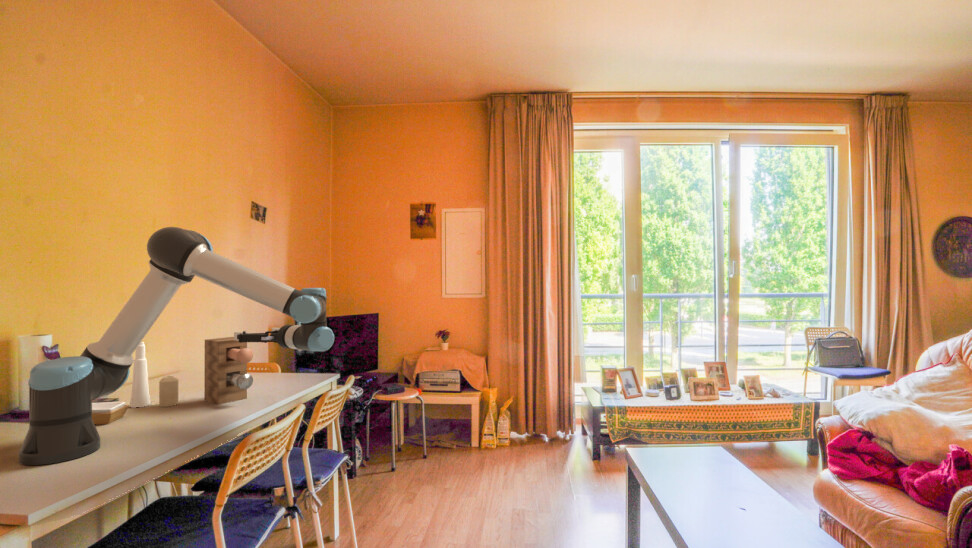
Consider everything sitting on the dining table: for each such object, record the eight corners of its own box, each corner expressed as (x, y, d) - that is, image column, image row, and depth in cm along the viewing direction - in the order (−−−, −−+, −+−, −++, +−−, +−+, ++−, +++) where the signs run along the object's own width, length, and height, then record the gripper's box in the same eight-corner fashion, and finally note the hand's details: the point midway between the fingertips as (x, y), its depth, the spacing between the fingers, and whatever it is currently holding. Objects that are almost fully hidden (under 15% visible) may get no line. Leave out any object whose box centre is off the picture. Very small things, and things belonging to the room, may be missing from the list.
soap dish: (63, 428, 137) (63, 411, 137) (84, 418, 147) (84, 402, 147) (111, 425, 140) (111, 408, 140) (129, 416, 149) (129, 400, 149)
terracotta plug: (253, 362, 164) (253, 347, 164) (238, 364, 160) (238, 349, 160) (236, 359, 170) (236, 345, 170) (221, 361, 166) (221, 346, 166)
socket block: (246, 398, 170) (246, 338, 171) (218, 404, 162) (219, 341, 162) (232, 394, 176) (232, 336, 176) (204, 400, 167) (204, 339, 168)
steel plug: (253, 387, 164) (253, 372, 164) (238, 390, 160) (238, 375, 160) (235, 383, 170) (235, 369, 170) (221, 386, 166) (221, 372, 166)
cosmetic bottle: (143, 402, 165) (143, 340, 165) (155, 404, 163) (155, 341, 163) (125, 407, 159) (125, 343, 159) (137, 408, 157) (137, 343, 157)
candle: (181, 404, 163) (181, 375, 163) (163, 407, 158) (163, 378, 158) (173, 402, 166) (173, 374, 166) (156, 405, 161) (156, 376, 161)
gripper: (257, 354, 137) (217, 349, 148) (326, 343, 158) (287, 340, 169) (256, 329, 137) (217, 326, 148) (325, 321, 158) (286, 319, 169)
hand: (254, 333), depth 159 cm, fingers open, 13 cm apart
